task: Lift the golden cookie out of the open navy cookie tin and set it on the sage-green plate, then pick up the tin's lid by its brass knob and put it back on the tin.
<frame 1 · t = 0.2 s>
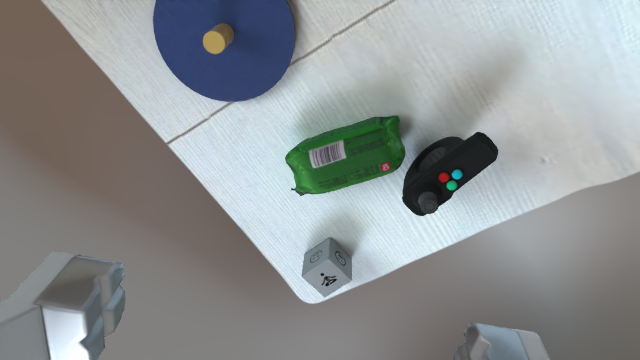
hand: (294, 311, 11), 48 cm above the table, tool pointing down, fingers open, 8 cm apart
snack package: (345, 147, 61), on the table
dice cube: (328, 255, 70), on the table
controller: (438, 150, 61), on the table
tin lid: (225, 32, 54), point 1 cm above the table
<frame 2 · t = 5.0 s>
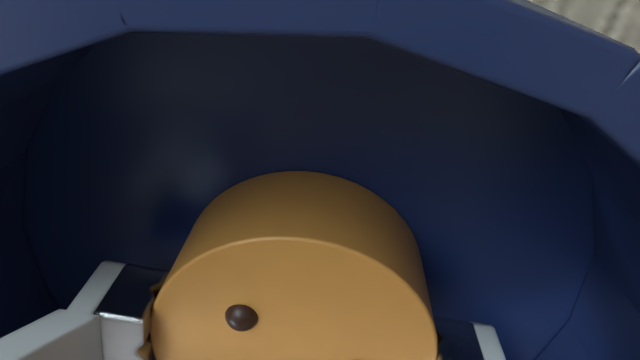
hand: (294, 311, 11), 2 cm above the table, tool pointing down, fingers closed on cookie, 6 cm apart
cookie: (303, 272, 12), point 1 cm above the table, touching cookie tin, gripper
cookie tin: (303, 261, 12), on the table
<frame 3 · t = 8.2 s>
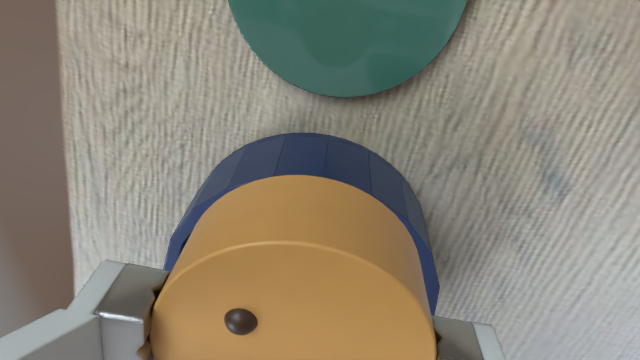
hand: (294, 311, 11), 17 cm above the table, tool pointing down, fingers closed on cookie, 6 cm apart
cookie: (302, 276, 12), point 16 cm above the table, touching gripper
cookie tin: (307, 238, 31), on the table
when the fingers open (2 cm above the table, at t = 11.6 s): cookie stays where it is, resting on plate.
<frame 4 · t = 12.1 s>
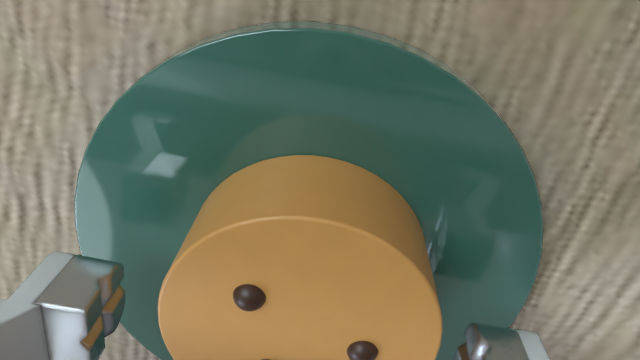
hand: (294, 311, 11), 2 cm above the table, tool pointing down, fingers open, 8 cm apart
cookie: (308, 257, 12), point 1 cm above the table, touching plate
plate: (306, 246, 13), on the table
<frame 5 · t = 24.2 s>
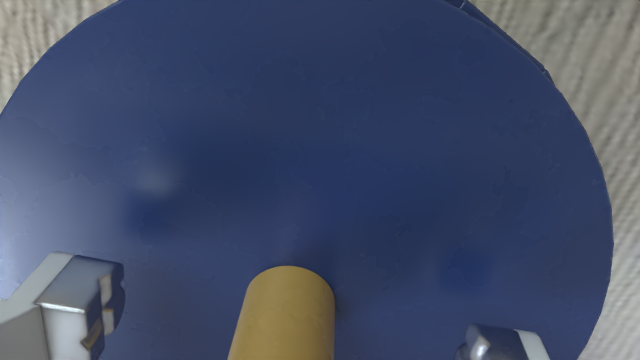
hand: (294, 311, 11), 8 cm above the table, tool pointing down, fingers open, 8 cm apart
cookie tin: (312, 171, 18), on the table
tin lid: (292, 287, 13), point 6 cm above the table, touching cookie tin
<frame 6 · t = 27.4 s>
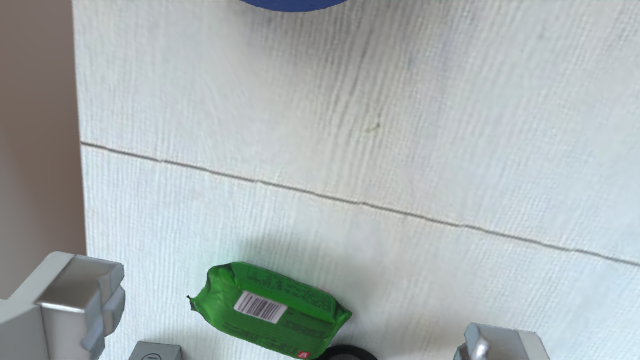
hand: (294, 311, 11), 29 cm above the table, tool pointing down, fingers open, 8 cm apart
snack package: (274, 290, 50), on the table
dice cube: (161, 356, 56), on the table
controller: (352, 350, 53), on the table
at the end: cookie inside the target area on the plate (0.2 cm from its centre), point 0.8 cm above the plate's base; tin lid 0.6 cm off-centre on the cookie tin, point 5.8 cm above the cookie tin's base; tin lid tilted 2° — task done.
